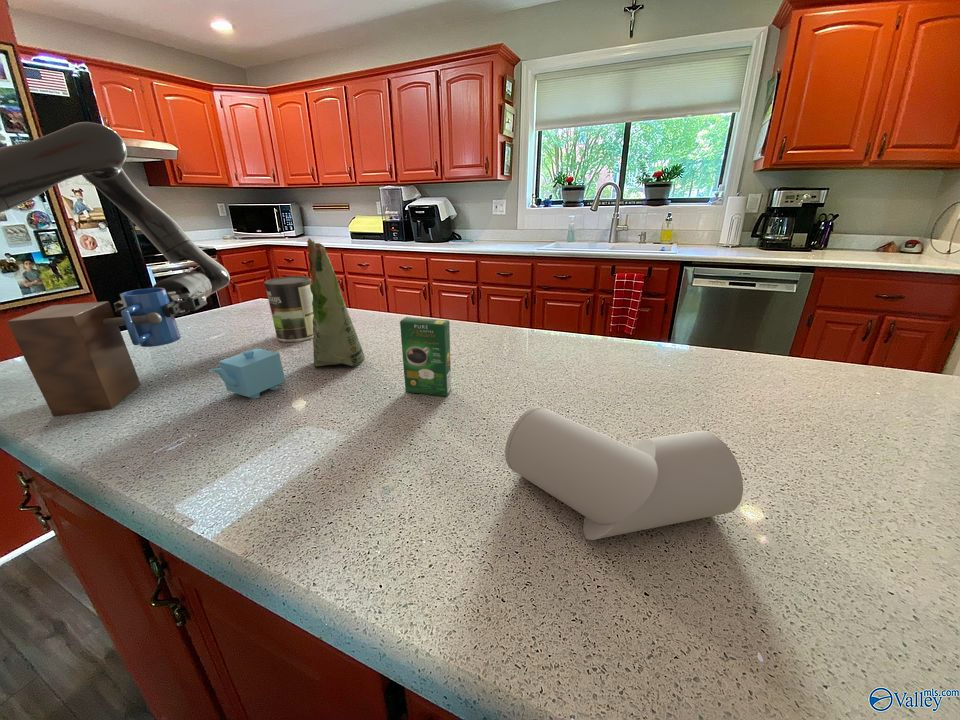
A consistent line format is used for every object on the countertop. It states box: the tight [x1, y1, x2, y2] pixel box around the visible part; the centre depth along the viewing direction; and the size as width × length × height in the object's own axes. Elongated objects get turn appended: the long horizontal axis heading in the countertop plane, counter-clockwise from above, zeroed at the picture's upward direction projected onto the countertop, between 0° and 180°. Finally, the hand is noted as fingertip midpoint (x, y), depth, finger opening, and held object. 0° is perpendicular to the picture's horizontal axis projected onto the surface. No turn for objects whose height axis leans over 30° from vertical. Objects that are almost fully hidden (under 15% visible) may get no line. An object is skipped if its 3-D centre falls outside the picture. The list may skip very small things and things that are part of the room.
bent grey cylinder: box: [504, 406, 744, 541], centre depth 43 cm, size 18×11×20 cm
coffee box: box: [399, 316, 452, 397], centre depth 67 cm, size 8×3×13 cm, turn 76°
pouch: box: [306, 237, 366, 368], centre depth 78 cm, size 11×12×25 cm
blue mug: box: [119, 287, 182, 348], centre depth 71 cm, size 11×6×10 cm, turn 16°
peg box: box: [6, 300, 162, 417], centre depth 67 cm, size 16×10×16 cm, turn 107°
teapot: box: [208, 347, 286, 400], centre depth 69 cm, size 12×6×8 cm, turn 153°
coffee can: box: [263, 275, 314, 343], centre depth 97 cm, size 10×10×14 cm
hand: (144, 313), depth 71 cm, fingers closed on blue mug, 6 cm apart
